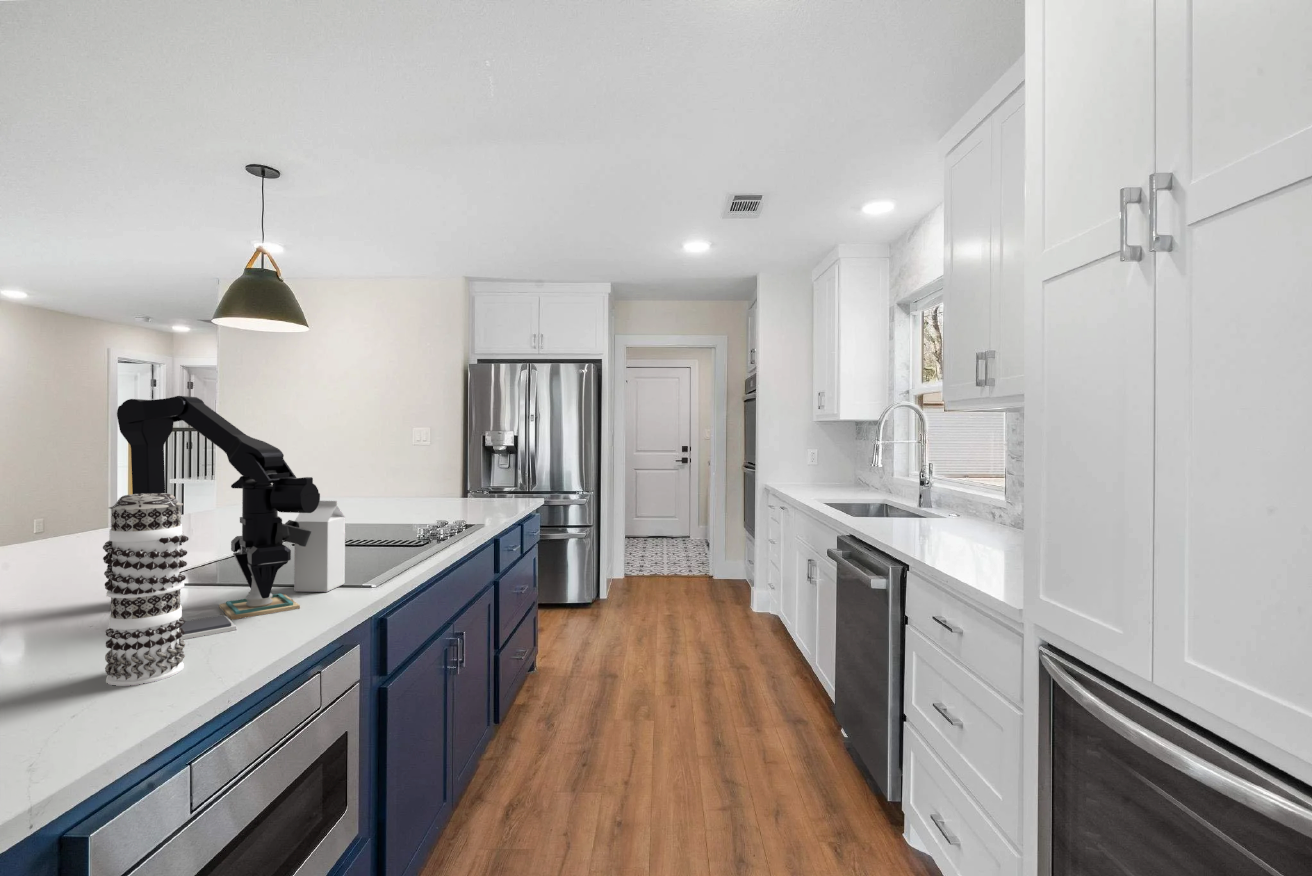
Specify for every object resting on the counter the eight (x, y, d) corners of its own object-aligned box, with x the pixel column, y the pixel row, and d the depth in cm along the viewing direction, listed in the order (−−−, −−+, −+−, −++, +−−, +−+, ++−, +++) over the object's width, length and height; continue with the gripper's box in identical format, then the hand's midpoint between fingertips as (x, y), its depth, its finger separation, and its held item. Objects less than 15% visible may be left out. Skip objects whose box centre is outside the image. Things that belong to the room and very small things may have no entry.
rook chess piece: (259, 608, 115) (260, 565, 115) (239, 606, 116) (239, 564, 116) (278, 602, 120) (279, 561, 120) (259, 600, 121) (259, 559, 120)
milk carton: (327, 592, 129) (327, 502, 129) (293, 592, 130) (294, 502, 129) (344, 584, 137) (345, 499, 136) (313, 583, 137) (313, 498, 137)
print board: (219, 607, 118) (219, 601, 118) (284, 596, 126) (284, 591, 126) (231, 619, 110) (231, 613, 110) (299, 608, 118) (299, 602, 118)
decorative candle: (177, 656, 92) (178, 490, 92) (196, 672, 86) (197, 494, 86) (96, 674, 85) (96, 494, 85) (110, 693, 79) (111, 499, 79)
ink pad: (170, 628, 105) (170, 622, 105) (226, 619, 110) (226, 613, 110) (177, 640, 99) (177, 633, 99) (236, 629, 105) (236, 623, 105)
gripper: (321, 513, 117) (320, 595, 117) (293, 504, 130) (293, 578, 130) (252, 518, 109) (251, 606, 109) (230, 508, 122) (230, 586, 122)
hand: (259, 593), depth 118 cm, fingers open, 9 cm apart
